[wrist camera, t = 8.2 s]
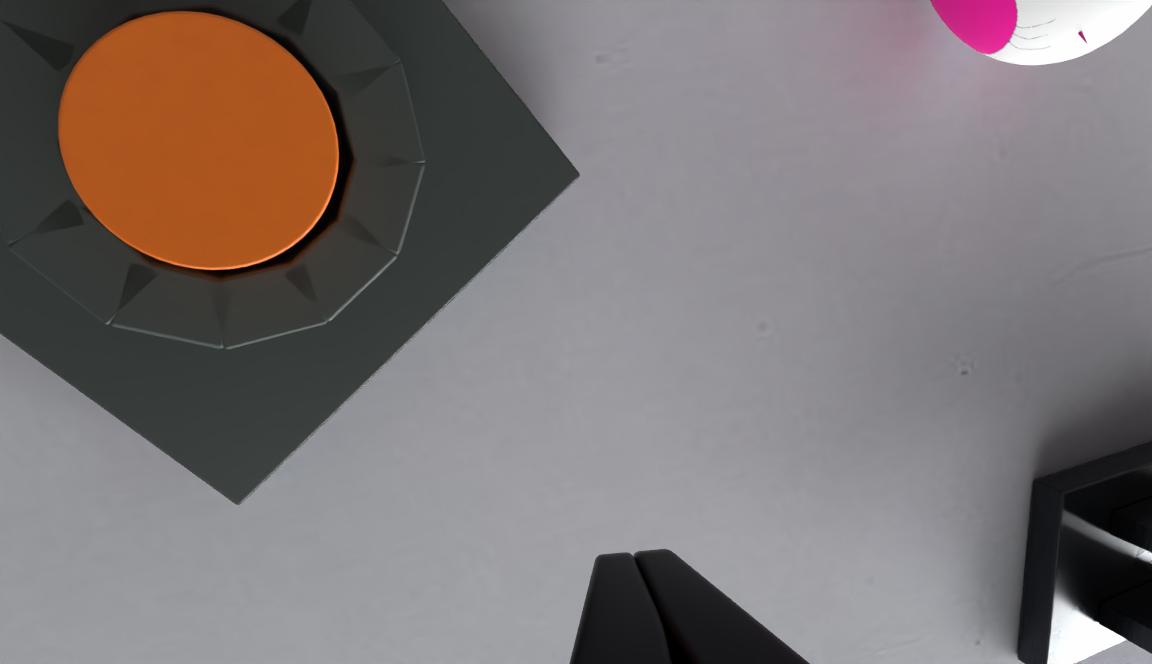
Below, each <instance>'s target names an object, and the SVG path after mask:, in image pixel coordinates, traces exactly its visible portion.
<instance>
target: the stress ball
mask: <svg viewBox="0 0 1152 664" xmlns="http://www.w3.org/2000/svg"><path fill="white" fill-rule="evenodd" d="M930 1H931V3H932V5H933V7H934V8H935V10H936V11H937V13H938V15H939V16H940V18H941V19H942V20H943V21H944V23H945V24H946V25H947V26H948V28H949V29H950V30H951V31H952V32H953V33H954V34H955V35H956V36H957V37H958V38H960V39H961V40H962V41H963V42H964V43H966V44H967V45H969V46H970V47H971V48H973V49H975V50H976V51H978V52H980V53H982V54H984V55H986V56H989V57H992V58H994V59H997V60H1000V61H1004V62H1008V63H1013V64H1020V65H1042V64H1051V63H1058V62H1062V61H1066V60H1070V59H1074V58H1076V57H1079V56H1081V55H1084V54H1086V53H1089V52H1091V51H1093V50H1094V49H1096V48H1098V47H1100V46H1102V45H1104V44H1105V43H1107V42H1109V41H1111V40H1112V39H1114V38H1115V37H1116V36H1118V35H1119V34H1121V33H1122V32H1124V31H1125V30H1126V29H1127V28H1128V27H1129V26H1131V25H1132V24H1133V23H1134V22H1135V21H1136V20H1137V19H1138V18H1139V17H1140V16H1141V15H1142V14H1143V13H1144V12H1145V11H1146V10H1147V9H1148V8H1149V7H1150V6H1151V5H1152V0H930Z"/></svg>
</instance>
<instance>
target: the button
mask: <svg viewBox="0 0 1152 664" xmlns="http://www.w3.org/2000/svg"><path fill="white" fill-rule="evenodd" d="M58 138H59V144H60V151H61V155H62V158H63V162H64V165H65V168H66V171H67V173H68V175H69V178H70V180H71V182H72V184H73V186H74V188H75V190H76V191H77V193H78V194H79V196H80V198H81V199H82V201H83V202H84V204H85V205H86V206H87V207H88V209H89V210H90V211H91V212H92V213H93V215H94V216H95V217H96V218H97V219H98V220H99V221H100V222H101V223H102V224H103V225H104V226H105V227H106V228H107V229H108V230H109V231H111V232H112V233H113V234H115V235H116V236H117V237H119V238H120V239H121V240H123V241H124V242H125V243H127V244H129V245H130V246H132V247H134V248H135V249H137V250H139V251H141V252H142V253H145V254H147V255H149V256H152V257H154V258H156V259H158V260H161V261H165V262H168V263H171V264H174V265H178V266H183V267H189V268H194V269H206V270H223V269H234V268H240V267H246V266H250V265H253V264H257V263H260V262H263V261H265V260H268V259H270V258H272V257H275V256H277V255H279V254H280V253H282V252H284V251H285V250H287V249H289V248H290V247H292V246H293V245H294V244H296V243H297V242H298V241H299V240H301V239H302V238H303V237H304V236H305V235H306V234H307V233H308V232H309V231H310V230H311V229H312V228H313V227H314V225H315V224H316V222H317V221H318V220H319V218H320V217H321V215H322V214H323V212H324V210H325V208H326V207H327V205H328V203H329V201H330V198H331V195H332V193H333V190H334V187H335V183H336V178H337V173H338V162H339V149H338V138H337V133H336V128H335V123H334V120H333V117H332V114H331V111H330V108H329V106H328V104H327V102H326V100H325V98H324V96H323V94H322V92H321V90H320V89H319V87H318V85H317V84H316V82H315V81H314V79H313V78H312V76H311V75H310V74H309V73H308V72H307V70H306V69H305V68H304V67H303V65H302V64H301V63H300V62H299V61H298V60H297V59H296V58H295V57H294V56H293V55H292V54H291V53H289V52H288V51H287V50H286V49H285V48H283V47H282V46H281V45H280V44H278V43H277V42H276V41H274V40H273V39H271V38H270V37H268V36H266V35H265V34H263V33H261V32H260V31H258V30H256V29H254V28H252V27H250V26H247V25H245V24H243V23H241V22H238V21H235V20H232V19H229V18H226V17H223V16H219V15H213V14H208V13H203V12H190V11H174V12H162V13H157V14H151V15H146V16H143V17H140V18H137V19H134V20H131V21H128V22H126V23H124V24H122V25H120V26H118V27H116V28H114V29H112V30H111V31H109V32H108V33H107V34H105V35H104V36H102V37H101V38H100V39H98V40H97V41H96V42H95V43H94V44H93V45H92V46H91V47H90V48H89V49H88V50H87V51H86V52H85V53H84V54H83V55H82V57H81V58H80V60H79V61H78V62H77V64H76V65H75V66H74V68H73V70H72V72H71V74H70V76H69V78H68V80H67V82H66V84H65V87H64V91H63V94H62V97H61V100H60V107H59V114H58Z"/></svg>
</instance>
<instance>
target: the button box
mask: <svg viewBox="0 0 1152 664" xmlns="http://www.w3.org/2000/svg"><path fill="white" fill-rule="evenodd" d="M174 11H190V12H203V13H208V14H213V15H219V16H223V17H226V18H229V19H232V20H235V21H238V22H241V23H243V24H245V25H247V26H250V27H252V28H254V29H256V30H258V31H260V32H261V33H263V34H265V35H266V36H268V37H270V38H271V39H273V40H274V41H276V42H277V43H278V44H280V45H281V46H282V47H283V48H285V49H286V50H287V51H288V52H289V53H291V54H292V55H293V56H294V57H295V58H296V59H297V60H298V61H299V62H300V63H301V64H302V65H303V67H304V68H305V69H306V70H307V72H308V73H309V74H310V75H311V76H312V78H313V79H314V81H315V82H316V84H317V85H318V87H319V89H320V90H321V92H322V94H323V96H324V98H325V100H326V102H327V104H328V106H329V108H330V111H331V114H332V117H333V120H334V123H335V128H336V133H337V138H338V149H339V162H338V173H337V178H336V183H335V187H334V190H333V193H332V195H331V198H330V201H329V203H328V205H327V207H326V208H325V210H324V212H323V214H322V215H321V217H320V218H319V220H318V221H317V222H316V224H315V225H314V227H313V228H312V229H311V230H310V231H309V232H308V233H307V234H306V235H305V236H304V237H303V238H302V239H301V240H299V241H298V242H297V243H296V244H294V245H293V246H292V247H290V248H289V249H287V250H285V251H284V252H282V253H280V254H279V255H277V256H275V257H272V258H270V259H268V260H265V261H263V262H260V263H257V264H253V265H250V266H246V267H240V268H234V269H223V270H206V269H194V268H189V267H183V266H178V265H174V264H171V263H168V262H165V261H161V260H158V259H156V258H154V257H152V256H149V255H147V254H145V253H142V252H141V251H139V250H137V249H135V248H134V247H132V246H130V245H129V244H127V243H125V242H124V241H123V240H121V239H120V238H119V237H117V236H116V235H115V234H113V233H112V232H111V231H109V230H108V229H107V228H106V227H105V226H104V225H103V224H102V223H101V222H100V221H99V220H98V219H97V218H96V217H95V216H94V215H93V213H92V212H91V211H90V210H89V209H88V207H87V206H86V205H85V204H84V202H83V201H82V199H81V198H80V196H79V194H78V193H77V191H76V190H75V188H74V186H73V184H72V182H71V180H70V178H69V175H68V173H67V171H66V168H65V165H64V162H63V158H62V155H61V151H60V144H59V138H58V114H59V107H60V100H61V97H62V94H63V91H64V87H65V84H66V82H67V80H68V78H69V76H70V74H71V72H72V70H73V68H74V66H75V65H76V64H77V62H78V61H79V60H80V58H81V57H82V55H83V54H84V53H85V52H86V51H87V50H88V49H89V48H90V47H91V46H92V45H93V44H94V43H95V42H96V41H97V40H98V39H100V38H101V37H102V36H104V35H105V34H107V33H108V32H109V31H111V30H112V29H114V28H116V27H118V26H120V25H122V24H124V23H126V22H128V21H131V20H134V19H137V18H140V17H143V16H146V15H151V14H157V13H162V12H174ZM579 176H580V174H579V172H578V171H577V170H576V168H575V167H574V166H573V165H572V163H571V162H570V161H569V160H568V158H567V157H566V156H565V155H564V153H563V152H562V151H561V149H560V148H559V147H558V146H557V144H556V143H555V142H554V141H553V139H552V138H551V137H550V136H549V134H548V133H547V132H546V131H545V129H544V128H543V127H542V126H541V124H540V123H539V122H538V121H537V119H536V118H535V117H534V116H533V114H532V113H531V112H530V111H529V109H528V108H527V107H526V106H525V104H524V103H523V102H522V100H521V99H520V98H519V97H518V95H517V94H516V93H515V92H514V90H513V89H512V88H511V87H510V85H509V84H508V83H507V82H506V80H505V79H504V78H503V77H502V75H501V74H500V73H499V72H498V70H497V69H496V68H495V67H494V65H493V64H492V63H491V62H490V60H489V59H488V58H487V57H486V55H485V54H484V53H483V52H482V50H481V49H480V48H479V46H478V45H477V44H476V43H475V41H474V40H473V39H472V38H471V36H470V35H469V34H468V33H467V31H466V30H465V29H464V28H463V26H462V25H461V24H460V23H459V21H458V20H457V19H456V18H455V16H454V15H453V14H452V13H451V11H450V10H449V9H448V8H447V6H446V5H445V4H444V3H443V1H442V0H0V334H2V335H3V336H4V337H6V338H7V339H9V340H10V341H11V342H13V343H14V344H16V345H17V346H18V347H20V348H21V349H22V350H24V351H25V352H27V353H28V354H29V355H31V356H32V357H33V358H35V359H36V360H38V361H39V362H40V363H42V364H43V365H44V366H46V367H47V368H49V369H50V370H51V371H53V372H54V373H56V374H57V375H58V376H60V377H61V378H62V379H64V380H65V381H67V382H68V383H69V384H71V385H72V386H73V387H75V388H76V389H78V390H79V391H80V392H82V393H83V394H85V395H86V396H87V397H89V398H90V399H91V400H93V401H94V402H96V403H97V404H98V405H100V406H101V407H102V408H104V409H105V410H107V411H108V412H109V413H111V414H112V415H114V416H115V417H116V418H118V419H119V420H120V421H122V422H123V423H125V424H126V425H127V426H129V427H130V428H131V429H133V430H134V431H136V432H137V433H138V434H140V435H141V436H143V437H144V438H145V439H147V440H148V441H149V442H151V443H152V444H154V445H155V446H156V447H158V448H159V449H160V450H162V451H163V452H165V453H166V454H167V455H169V456H170V457H171V458H173V459H174V460H176V461H177V462H178V463H180V464H181V465H183V466H184V467H185V468H187V469H188V470H189V471H191V472H192V473H194V474H195V475H196V476H198V477H199V478H200V479H202V480H203V481H205V482H206V483H207V484H209V485H210V486H212V487H213V488H214V489H216V490H217V491H218V492H220V493H221V494H223V495H224V496H225V497H227V498H228V499H229V500H231V501H232V502H234V503H235V504H237V505H240V504H242V503H243V502H244V501H245V500H246V499H247V498H248V497H249V496H250V495H251V494H252V493H253V492H254V491H255V490H256V489H257V488H258V487H259V486H260V485H261V484H262V483H263V482H264V481H265V480H267V479H268V478H269V477H270V476H271V475H272V474H273V473H274V472H275V471H276V470H277V469H278V468H279V467H280V466H281V465H282V464H283V463H284V462H285V461H286V460H287V459H288V458H289V457H290V456H291V455H292V454H293V453H294V452H295V451H297V450H298V449H299V448H300V447H301V446H302V445H303V444H304V443H305V442H306V441H307V440H308V439H309V438H310V437H311V436H312V435H313V434H314V433H315V432H316V431H317V430H318V429H319V428H320V427H321V426H322V425H323V424H324V423H325V422H327V421H328V420H329V419H330V418H331V417H332V416H333V415H334V414H335V413H336V412H337V411H338V410H339V409H340V408H341V407H342V406H343V405H344V404H345V403H346V402H347V401H348V400H349V399H350V398H351V397H352V396H353V395H354V394H355V393H357V392H358V391H359V390H360V389H361V388H362V387H363V386H364V385H365V384H366V383H367V382H368V381H369V380H370V379H371V378H372V377H373V376H374V375H375V374H376V373H377V372H378V371H379V370H380V369H381V368H382V367H383V366H384V365H385V364H387V363H388V362H389V361H390V360H391V359H392V358H393V357H394V356H395V355H396V354H397V353H398V352H399V351H400V350H401V349H402V348H403V347H404V346H405V345H406V344H407V343H408V342H409V341H410V340H411V339H412V338H413V337H414V336H415V335H417V334H418V333H419V332H420V331H421V330H422V329H423V328H424V327H425V326H426V325H427V324H428V323H429V322H430V321H431V320H432V319H433V318H434V317H435V316H436V315H437V314H438V313H439V312H440V311H441V310H442V309H443V308H444V307H445V306H447V305H448V304H449V303H450V302H451V301H452V300H453V299H454V298H455V297H456V296H457V295H458V294H459V293H460V292H461V291H462V290H463V289H464V288H465V287H466V286H467V285H468V284H469V283H470V282H471V281H472V280H473V279H474V278H475V277H477V276H478V275H479V274H480V273H481V272H482V271H483V270H484V269H485V268H486V267H487V266H488V265H489V264H490V263H491V262H492V261H493V260H494V259H495V258H496V257H497V256H498V255H499V254H500V253H501V252H502V251H503V250H504V249H505V248H507V247H508V246H509V245H510V244H511V243H512V242H513V241H514V240H515V239H516V238H517V237H518V236H519V235H520V234H521V233H522V232H523V231H524V230H525V229H526V228H527V227H528V226H529V225H530V224H531V223H532V222H533V221H534V220H535V219H537V218H538V217H539V216H540V215H541V214H542V213H543V212H544V211H545V210H546V209H547V208H548V207H549V206H550V205H551V204H552V203H553V202H554V201H555V200H556V199H557V198H558V197H559V196H560V195H561V194H562V193H563V192H564V191H565V190H567V189H568V188H569V187H570V186H571V185H572V184H573V183H574V182H575V181H576V180H577V179H578V178H579Z"/></svg>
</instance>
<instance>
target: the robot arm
mask: <svg viewBox="0 0 1152 664" xmlns="http://www.w3.org/2000/svg"><path fill="white" fill-rule="evenodd" d="M570 664H810V663H808V662H807V661H806V660H805V659H803V658H802V657H801V656H800V655H798V654H797V653H796V652H795V651H794V650H792V649H791V648H790V647H789V646H787V645H786V644H785V643H784V642H782V641H781V640H780V639H779V638H778V637H776V636H775V635H774V634H773V633H771V632H770V631H769V630H768V629H767V628H765V627H764V626H763V625H762V624H760V623H759V622H758V621H757V620H755V619H754V618H753V617H752V616H751V615H749V614H748V613H747V612H746V611H744V610H743V609H742V608H741V607H740V606H738V605H737V604H736V603H735V602H733V601H732V600H731V599H730V598H728V597H727V596H726V595H725V594H724V593H722V592H721V591H720V590H719V589H717V588H716V587H715V586H714V585H713V584H711V583H710V582H709V581H708V580H706V579H705V578H704V577H703V576H701V575H700V574H699V573H698V572H697V571H695V570H694V569H693V568H692V567H690V566H689V565H688V564H687V563H686V562H684V561H683V560H682V559H681V558H679V557H678V556H677V555H676V554H674V553H673V552H672V551H670V550H667V549H659V550H648V551H639V552H636V553H635V554H634V556H632V555H631V554H630V553H626V552H625V553H613V554H602V555H599V556H598V557H597V558H596V559H595V563H594V567H593V571H592V575H591V579H590V583H589V587H588V591H587V595H586V599H585V603H584V607H583V611H582V616H581V620H580V624H579V628H578V632H577V636H576V640H575V644H574V648H573V652H572V656H571V660H570Z"/></svg>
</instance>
